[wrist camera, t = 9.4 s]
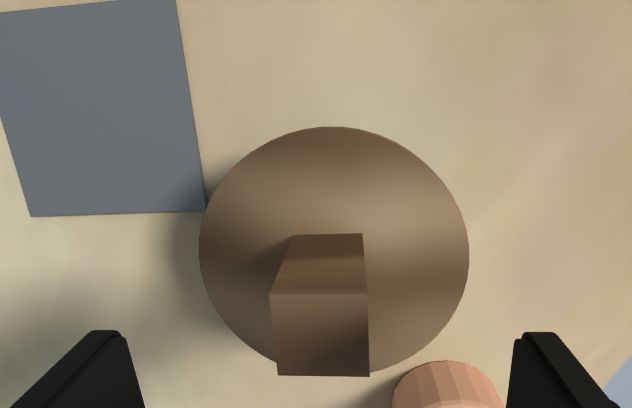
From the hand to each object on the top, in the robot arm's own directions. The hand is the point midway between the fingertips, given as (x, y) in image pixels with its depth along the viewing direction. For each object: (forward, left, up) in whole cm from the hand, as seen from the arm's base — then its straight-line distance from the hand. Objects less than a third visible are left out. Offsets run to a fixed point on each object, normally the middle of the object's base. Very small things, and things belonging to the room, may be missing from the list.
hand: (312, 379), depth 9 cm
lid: (+1, 0, -9) cm, 9 cm away
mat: (-6, -14, -14) cm, 21 cm away
